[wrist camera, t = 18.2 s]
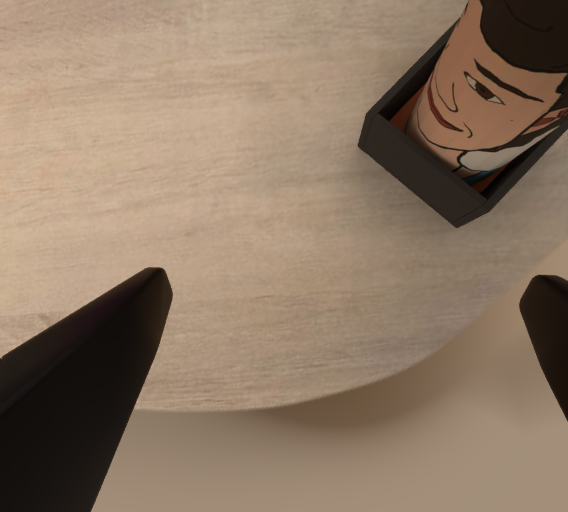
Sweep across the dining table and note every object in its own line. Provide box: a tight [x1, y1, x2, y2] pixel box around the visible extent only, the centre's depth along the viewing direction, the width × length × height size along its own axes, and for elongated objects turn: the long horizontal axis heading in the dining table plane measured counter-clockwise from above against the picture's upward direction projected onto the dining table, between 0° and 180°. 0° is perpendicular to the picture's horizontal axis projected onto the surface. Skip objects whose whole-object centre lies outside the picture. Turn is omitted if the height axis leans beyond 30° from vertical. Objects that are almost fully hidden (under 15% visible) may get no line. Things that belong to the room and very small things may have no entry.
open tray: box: [358, 18, 568, 228], centre depth 20 cm, size 9×9×4 cm
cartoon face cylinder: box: [404, 0, 568, 185], centre depth 14 cm, size 7×7×15 cm
